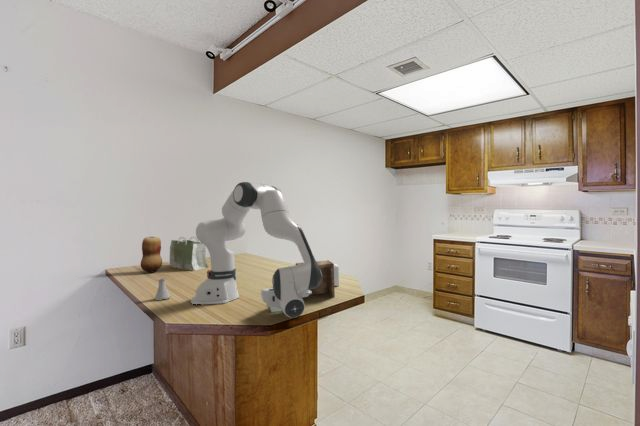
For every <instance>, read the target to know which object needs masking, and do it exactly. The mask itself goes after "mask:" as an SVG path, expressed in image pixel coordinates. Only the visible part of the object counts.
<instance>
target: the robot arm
mask: <svg viewBox="0 0 640 426" xmlns="http://www.w3.org/2000/svg"><path fill="white" fill-rule="evenodd" d="M227 197H228V198H226V200H225V202H224V204H223V206H222V208H221V215H222V217H223V218H221V219H220V218H218V219H208V220H205V221H201V222H199V223H198V224H197V226H196V229H195V237H196V238H197V239H198V241H199V242H201V243H203V244H204V245H205V248H207V250H208V253H209V257H210V258H209V259H210V266H211V269H208V270H207V271H206V275H207V277H206V278H207V279H205V280H204V281H203V282H202V283H201V284H200V285H198V287H197V288H196V290H195V295H194V296H193V297H192V298H191V299H190V304H191V303H192V304H191V305H193V304H196V305H195V306H197V304H201V305H217V304H218V305H219V304H226V303H228V302H230V301H235V300H236V299H239V298H240V293H239V291H238V287H237V281H236V280H237V270H236V265H235V264H236V263H235V253H234V251H232V250H231V249H229V248H227V246H226V242H229V241H234V240H237V239H239V238H240V239H241V238H242V237H243V236H244V235H245V234H246V225H245V223H244V219H245V217H246V216H247V214H248V212H249V211H250V210H251V209H254V210H260V215H261V216H260V217H261V223H262V225H263V226H262V227H263V228H264V231H265V232H266V233H267V235H269V236H270V237H274V238H276V239H281V240H286V241H290V242H292V243H293V244H295V246H297V248H298V252H299V253H300V256H301V259H302V261H303V262H304V263H303V262H302V263H303V264H300V265H296V264H295V265H290V266H285V267H280V268H277V269H276V270H275V271H274V273H273V275H272V278H271V279H272V281H271V282H272V286H270V287H268V288H267V287H266V288H261V289H260V296H261V297H260V298H261V300H262V302H263V303H265V304H266V307H268V308H270V307H280V308H281V310H282V311H281V312H283V314H284V315H285V316H286V317H288V318H290V319H291V318H292V319H294V318H299V317H300V316H301V315H302V314H303V312H304V311H305V307H306V306H305V300H304V299H303V298H307V297H309V296H310V295H309V294H312V291H310V290H309V289H316V288H317V287H318V286H319V285H320V283H321V281H322V273H321V270H320V268H319V266H318V264H317V262H316V261H317V260H316V259H315V255H314V254H313V252H312V249H311V247H310V244H309V241H308V239H307V237H306V235H305V233H304V230H303V229H302V227H301V226H300V225H299V224H297V223H296V222H294V221H293V219H292V218H291V216H290V212H289V208H288V205H287V201H286V200H285V197H284V194H283V193H282V191H281V189H280V188H277V187H276V186H274V185H273V186H271V185H268V184H263V183H255V182H254V183H253V182H248V181H241V182H239V183H237V184H236V185H235V187H234V189H233V190H232V191H231V193H230V195H229V196H227ZM302 297H303V298H302Z"/></svg>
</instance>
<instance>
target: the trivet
mask: <svg viewBox="0 0 640 426" xmlns="http://www.w3.org/2000/svg"><path fill="white" fill-rule="evenodd" d="M269 309H270V313H271V314H272V313H280V312H283V311H282V310H281V308H280V307H269Z"/></svg>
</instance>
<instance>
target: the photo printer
mask: <svg viewBox="0 0 640 426" xmlns="http://www.w3.org/2000/svg"><path fill="white" fill-rule="evenodd" d="M333 264H334V287H338V286H340V277H339V276H340V275H339V274H340V271H339V270H340V268H339V264H336V263H333Z"/></svg>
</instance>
